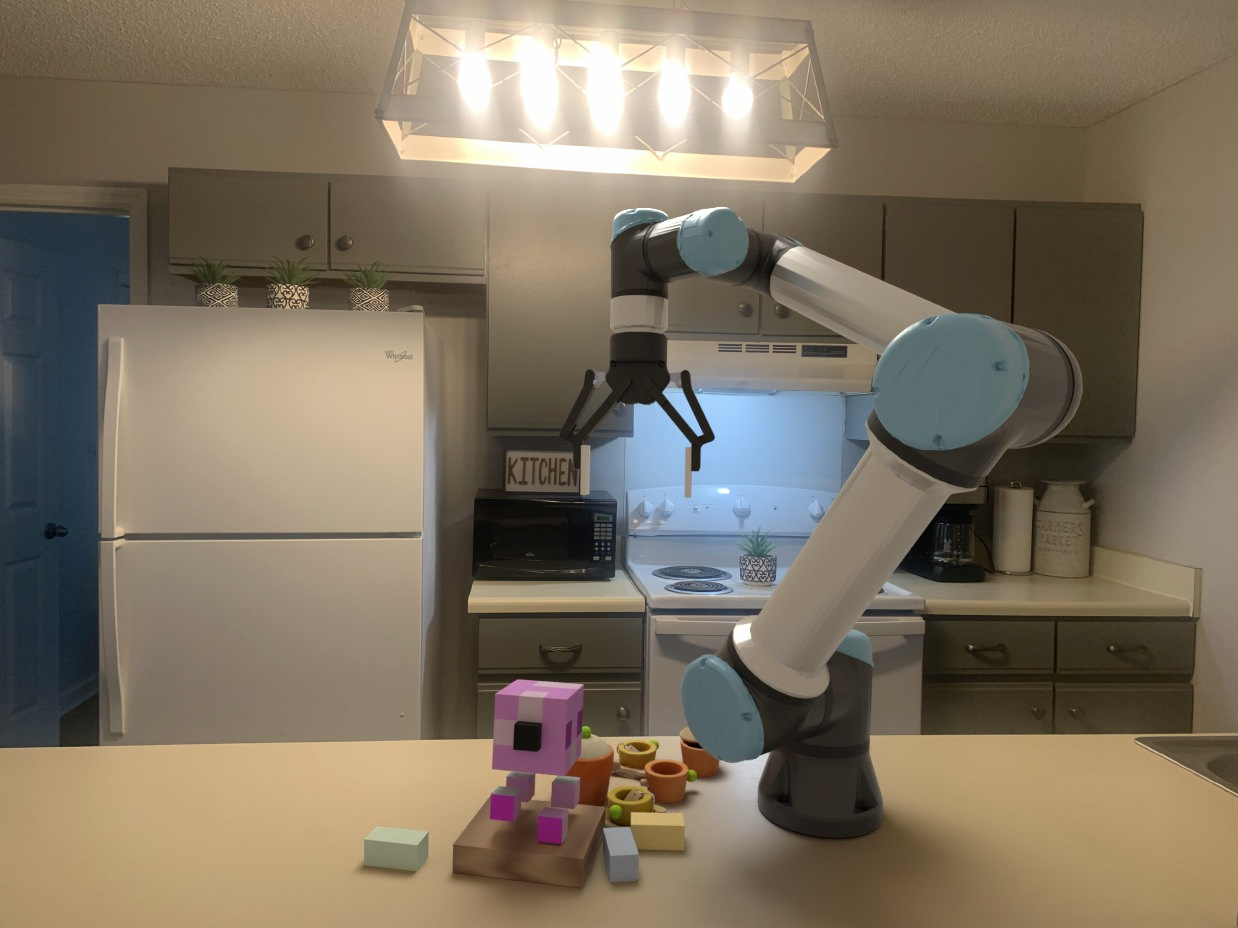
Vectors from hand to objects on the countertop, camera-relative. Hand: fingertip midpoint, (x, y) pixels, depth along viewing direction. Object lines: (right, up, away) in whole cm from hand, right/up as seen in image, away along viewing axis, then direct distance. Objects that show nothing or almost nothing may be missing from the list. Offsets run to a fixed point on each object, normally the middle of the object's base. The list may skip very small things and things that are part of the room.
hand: (636, 496), depth 108 cm
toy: (-12, -36, -17) cm, 41 cm away
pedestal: (-12, -39, -17) cm, 44 cm away
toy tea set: (+1, -39, 0) cm, 39 cm away
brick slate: (-2, -39, -19) cm, 44 cm away
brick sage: (-26, -39, -19) cm, 51 cm away
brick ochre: (+2, -39, -14) cm, 42 cm away
